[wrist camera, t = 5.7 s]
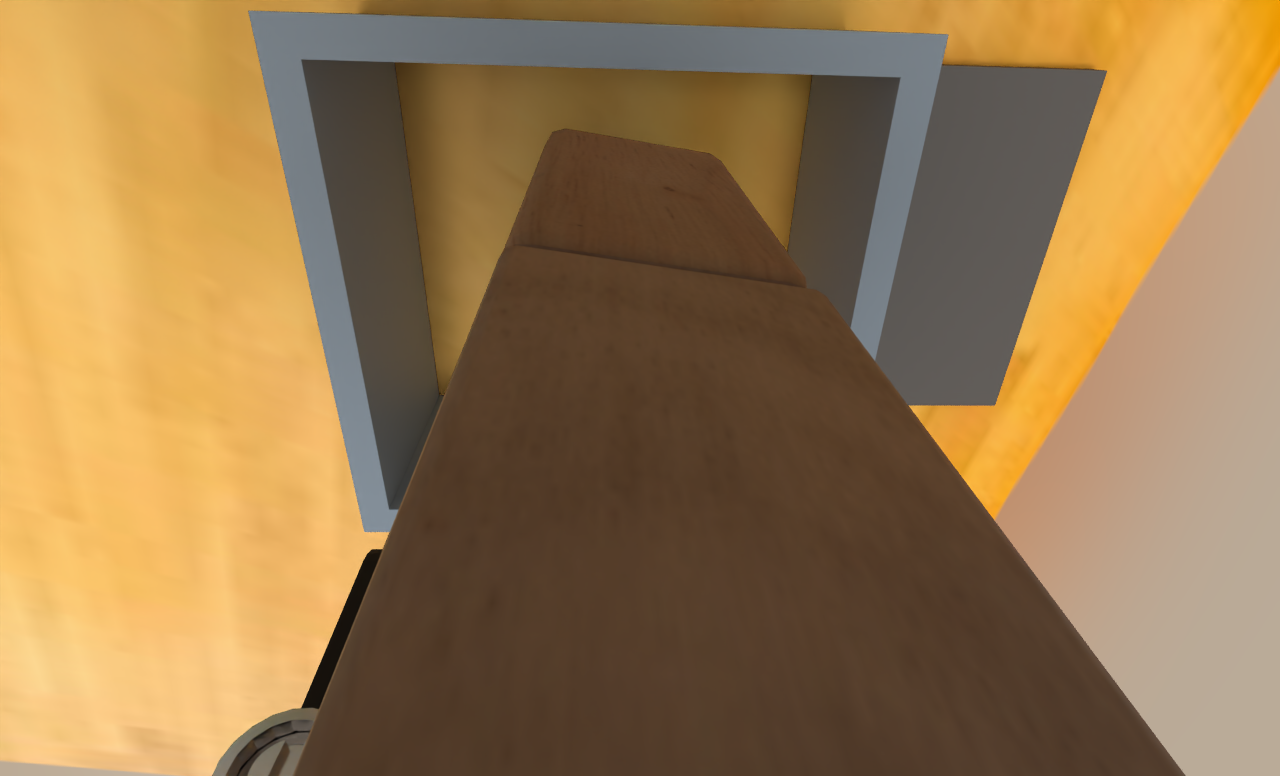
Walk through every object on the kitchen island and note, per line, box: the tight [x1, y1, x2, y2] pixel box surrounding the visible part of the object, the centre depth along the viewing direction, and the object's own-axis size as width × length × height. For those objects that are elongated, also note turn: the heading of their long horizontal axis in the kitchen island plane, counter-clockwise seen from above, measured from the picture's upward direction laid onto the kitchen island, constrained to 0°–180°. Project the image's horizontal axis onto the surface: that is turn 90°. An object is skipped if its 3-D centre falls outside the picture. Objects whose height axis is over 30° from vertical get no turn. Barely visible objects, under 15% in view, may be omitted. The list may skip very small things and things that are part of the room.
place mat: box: [875, 65, 1107, 405], centre depth 27 cm, size 14×8×1 cm, turn 178°
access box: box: [248, 11, 948, 532], centre depth 23 cm, size 16×17×8 cm
